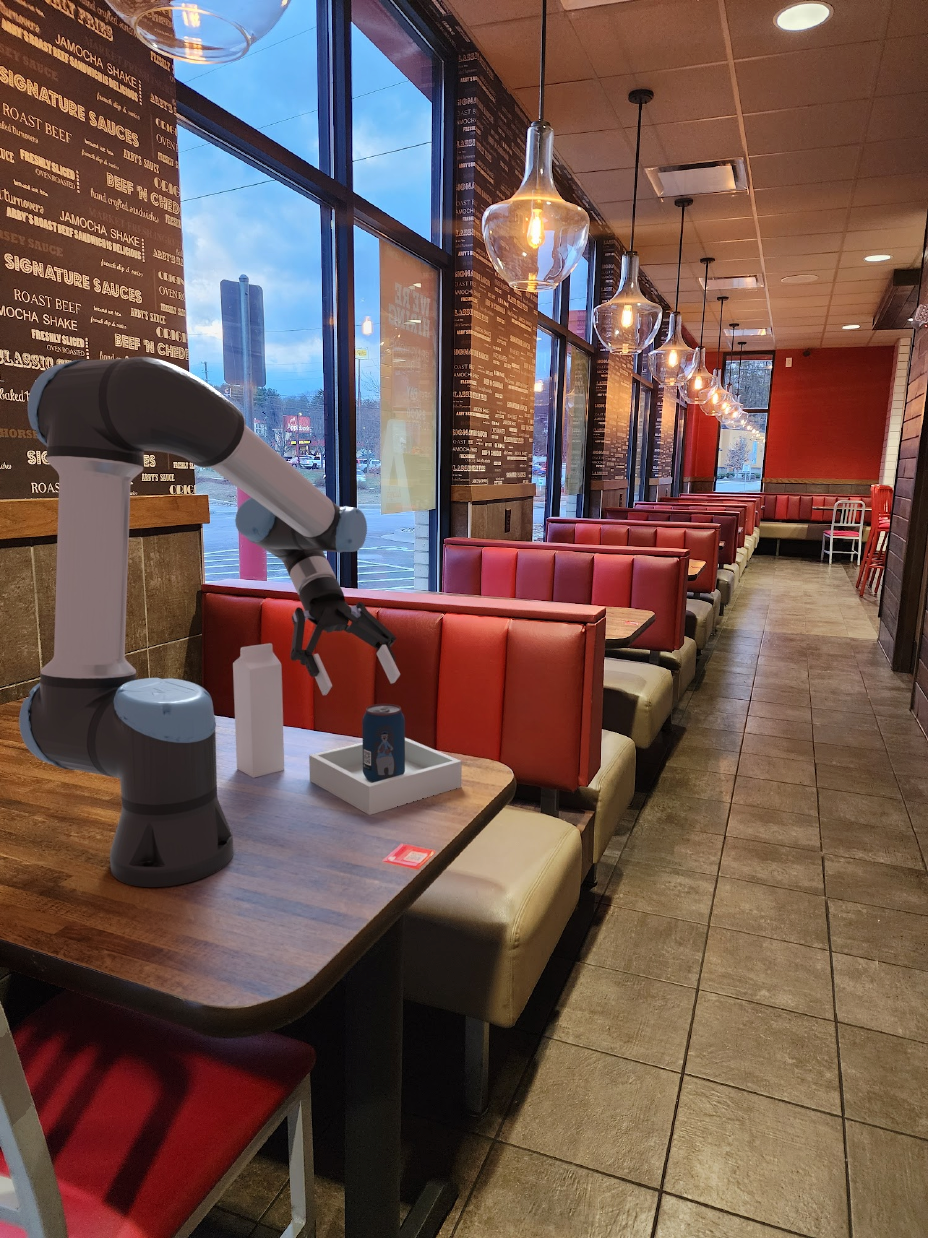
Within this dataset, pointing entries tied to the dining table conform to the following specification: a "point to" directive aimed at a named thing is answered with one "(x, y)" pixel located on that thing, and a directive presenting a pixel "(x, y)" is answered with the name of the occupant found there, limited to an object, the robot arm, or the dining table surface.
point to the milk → (258, 711)
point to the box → (420, 779)
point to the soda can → (383, 742)
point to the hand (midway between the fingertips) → (362, 684)
